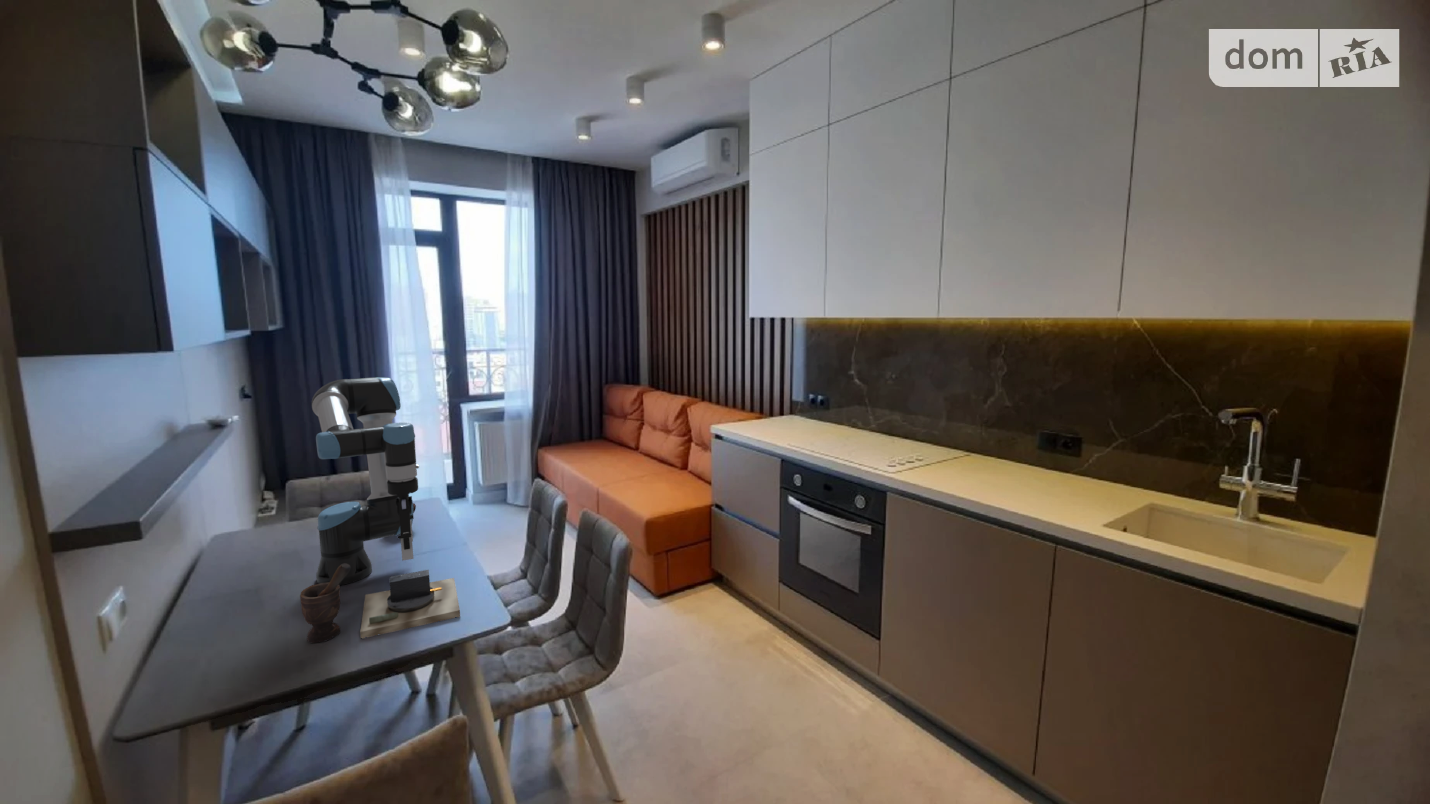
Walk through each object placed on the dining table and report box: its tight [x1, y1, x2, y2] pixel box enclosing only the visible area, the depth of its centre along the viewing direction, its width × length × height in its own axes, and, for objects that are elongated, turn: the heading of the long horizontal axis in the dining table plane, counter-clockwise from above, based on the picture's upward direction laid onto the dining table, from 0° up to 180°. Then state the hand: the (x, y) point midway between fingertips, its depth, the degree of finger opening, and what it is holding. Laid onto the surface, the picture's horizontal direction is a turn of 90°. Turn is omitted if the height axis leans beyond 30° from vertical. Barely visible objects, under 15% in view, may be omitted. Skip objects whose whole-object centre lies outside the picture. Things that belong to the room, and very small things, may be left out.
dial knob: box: [387, 569, 442, 613], centre depth 162 cm, size 14×12×8 cm
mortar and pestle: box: [299, 563, 351, 644], centre depth 148 cm, size 12×9×20 cm
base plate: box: [359, 577, 461, 639], centre depth 163 cm, size 24×22×4 cm
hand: (407, 550), depth 160 cm, fingers open, 13 cm apart
